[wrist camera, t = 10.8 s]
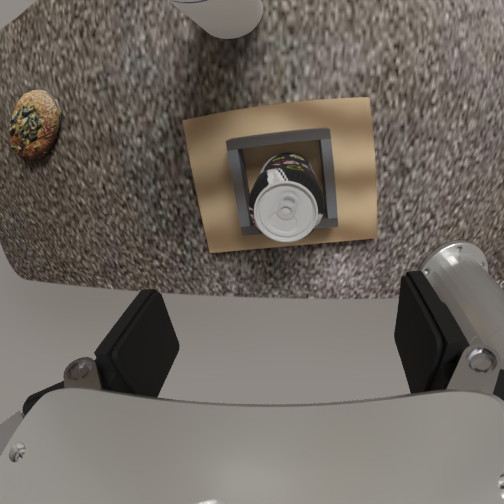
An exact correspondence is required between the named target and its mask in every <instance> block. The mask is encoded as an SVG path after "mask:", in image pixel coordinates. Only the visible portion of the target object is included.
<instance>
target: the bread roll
mask: <svg viewBox="0 0 504 504" xmlns="http://www.w3.org/2000/svg"><path fill="white" fill-rule="evenodd" d="M10 123H11V124H10V130H9V134H10V139H11V147H12V149H13V150H14V151H15V152H16V154H17V155H18V156H19V157H21V158H23V159H25V160H30V161H34V160H38V159H41V158H43V157H44V156H46V155H47V154H48V153H49V151H50V150H51V149H52V147H53V145H54V143H55V141H56V138H57V131H58V129H59V127H60V124H61V110H60V108H59V104H58V100H57V99H55V98H54V97H52V96H51V95H50V94H49V93H47V92H46V91H43V90H32V91H31V92H29V93H25V94H24V95H23V96H22V98H21V99H20V100H19V101H18V103H17V104H16V108H15V111H14V114H13V116H12V118H11V121H10Z"/></svg>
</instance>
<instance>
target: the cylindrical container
mask: <svg viewBox="0 0 504 504" xmlns="http://www.w3.org/2000/svg"><path fill="white" fill-rule="evenodd" d="M169 1H170V2H171V3H172V4H174V5H175V6H176V7H177V8H179V9H180V10H181V11H182V12H184V13H185V14H186V15H187V16H189V17H190V18H191V19H192V20H193V21H194V22H196V23H197V24H198V25H199V26H200V27H202V28H203V29H204V30H205V31H206V32H207V33H209V34H210V35H212V36H214V37H217V38H221V39H234V38H238V37H241V36H244V35H246V34H248V33H249V32H251V31H252V30H253V29H254V28H256V26H257V25H258V24H259V22H260V20H261V18H262V14H263V6H262V3H261V0H169Z"/></svg>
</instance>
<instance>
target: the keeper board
mask: <svg viewBox="0 0 504 504" xmlns="http://www.w3.org/2000/svg"><path fill="white" fill-rule="evenodd" d="M182 122H183V127H184V133H185V138H186V143H187V148H188V153H189V159H190V164H191V169H192V173H193V178H194V183H195V188H196V193H197V198H198V202H199V207H200V212H201V216H202V221H203V225H204V230H205V234H206V239H207V243H208V247H209V252H210V253H217V252H228V251H239V250H250V249H261V248H272V247H283V246H295V245H306V244H317V243H329V242H340V241H351V240H363V239H374V238H377V188H376V166H375V151H374V138H373V127H372V118H371V109H370V101H369V97H367V98H339V99H322V100H309V101H299V102H289V103H280V104H272V105H264V106H257V107H251V108H244V109H238V110H232V111H227V112H221V113H216V114H211V115H206V116H201V117H196V118H192V119H187V120H183V121H182ZM280 153H295V154H297V155H300V156H302V157H303V158H305V159H306V160H307V161H308V162H309V164H310V165H311V166H312V168H313V171H314V173H315V176H316V178H317V181H318V183H319V186H320V189H321V191H322V194H323V199H324V211H323V216H322V218H321V221H320V223H319V224H318V226H317V227H316V228H315V229H314V230H313V231H312V232H311V233H310V234H309V235H307V236H306V237H304V238H302V239H300V240H297V241H294V242H279V241H276V240H273V239H271V238H269V237H267V236H266V235H264V234H263V233H262V232H261V231H260V230H259V229H258V228H257V227H256V226H255V224H254V222H253V221H252V219H251V216H250V213H249V205H248V203H249V195H250V193H251V190H252V188H253V186H254V184H255V182H256V180H257V178H258V176H259V174H260V172H261V170H262V168H263V166H264V164H265V163H266V162H267V161H268V160H269V159H270V158H271V157H273V156H275V155H277V154H280Z"/></svg>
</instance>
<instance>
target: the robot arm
mask: <svg viewBox="0 0 504 504" xmlns="http://www.w3.org/2000/svg"><path fill="white" fill-rule="evenodd" d="M394 337H395V342H396V345H397V349H398V352H399V355H400V358H401V361H402V365H403V368H404V371H405V374H406V378H407V381H408V385H409V388H410V392H411V394H405V395H398V396H390V397H383V398H374V399H364V400H355V401H344V402H331V403H313V404H284V405H283V404H280V405H258V404H226V403H209V402H195V401H184V400H173V399H164V398H157V397H158V395H159V392H160V390H161V388H162V386H163V384H164V381H165V379H166V377H167V375H168V373H169V371H170V369H171V366H172V364H173V362H174V360H175V358H176V356H177V354H178V351H179V342H178V339H177V337H176V334H175V331H174V328H173V326H172V323H171V320H170V317H169V315H168V312H167V309H166V306H165V303H164V300H163V297H162V295H161V293H158V291H157V290H155V289H146V290H141V291H140V293H139V294H138V295H137V297H136V298H135V299H134V300H133V302H132V303H131V304H130V305H129V307H128V308H127V309H126V311H125V312H124V313H123V315H122V316H121V317H120V319H119V320H118V321H117V323H116V324H115V325H114V326H113V328H112V329H111V330H110V332H109V333H108V334H107V336H106V337H105V338H104V340H103V341H102V342H101V344H100V345H99V347H98V348H97V349H96V351H95V352H94V353H95V355H96V357H97V358H96V359H95V361H94V360H93V359H92V358H89V357H83V358H79V359H77V360H75V361H73V362H72V363H70V364H69V365H68V366H67V368H66V369H65V371H64V381H62V382H60V383H58V384H55V385H53V386H51V387H49V388H47V389H44V390H42V391H40V392H37V393H35V394H33V395H31V396H29V397H28V398H27V400H26V402H25V403H24V405H23V413H21V412H20V411H18V412H17V413H16V414H14V415H13V416H11V417H10V418H9V419H7V420H6V421H4V422H3V423H2V424H0V504H504V290H503V289H502V288H501V287H500V286H499V285H498V283H497V282H496V281H495V280H494V279H493V278H492V277H491V276H490V275H489V274H488V264H487V260H486V257H485V255H484V253H483V252H482V251H481V250H480V249H479V248H478V247H477V246H476V245H475V244H473V243H471V242H468V241H463V240H460V241H452V242H449V243H446V244H444V245H442V246H440V247H439V248H437V249H436V250H434V251H433V252H432V253H431V254H430V255H429V256H428V257H427V258H426V259H425V261H424V262H423V263H422V264H421V266H420V268H419V270H418V271H410V272H407V273H406V276H402V278H401V286H400V296H399V304H398V312H397V319H396V326H395V333H394Z"/></svg>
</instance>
